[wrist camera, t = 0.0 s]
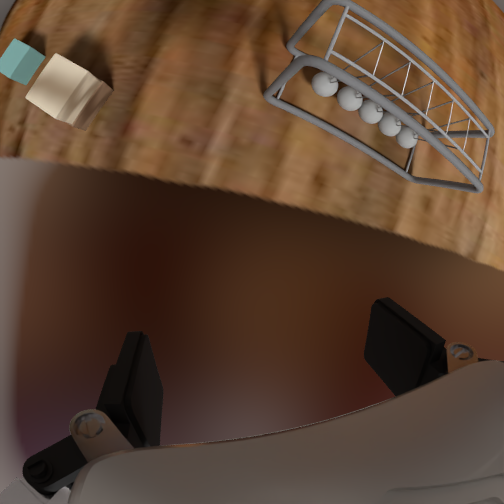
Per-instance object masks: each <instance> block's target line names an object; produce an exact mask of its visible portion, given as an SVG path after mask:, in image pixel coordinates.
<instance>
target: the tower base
mask: <svg viewBox="0 0 504 504" xmlns="http://www.w3.org/2000/svg"><path fill="white" fill-rule="evenodd" d="M94 77H95V76H94ZM95 78H97V77H95ZM97 79H98V78H97ZM98 80H99V81H100V82H101V83H100V85H99V86H98V87H97V89H96V90H95V91H94V93H93V94H92V96H91V97H90V98H89V100H88V101H87V103H86V104H85V106H84V107H83V108H82V110H81V111H80V113H79V114H78V116H77V118H76V119H75V121H74V122H73V124H70V123H68V124H69V125H71V126H72V127H75V128H78V129H82V130H85V131H86V130H87V128H88V127H89V125H90V124H91V122H92V121H93V119H94V118H95V116H96V115H97V113H98V112H99V110H100V109H101V108H102V106H103V105H104V103H105V102H106V101H107V99H108V98H109V96H110V95H111V94H112V92H113V90H112V89H111V88H110V87H109V86H108V85H107V84H106V83H105V82H103V81H102V80H100V79H98ZM66 123H67V122H66Z"/></svg>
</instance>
